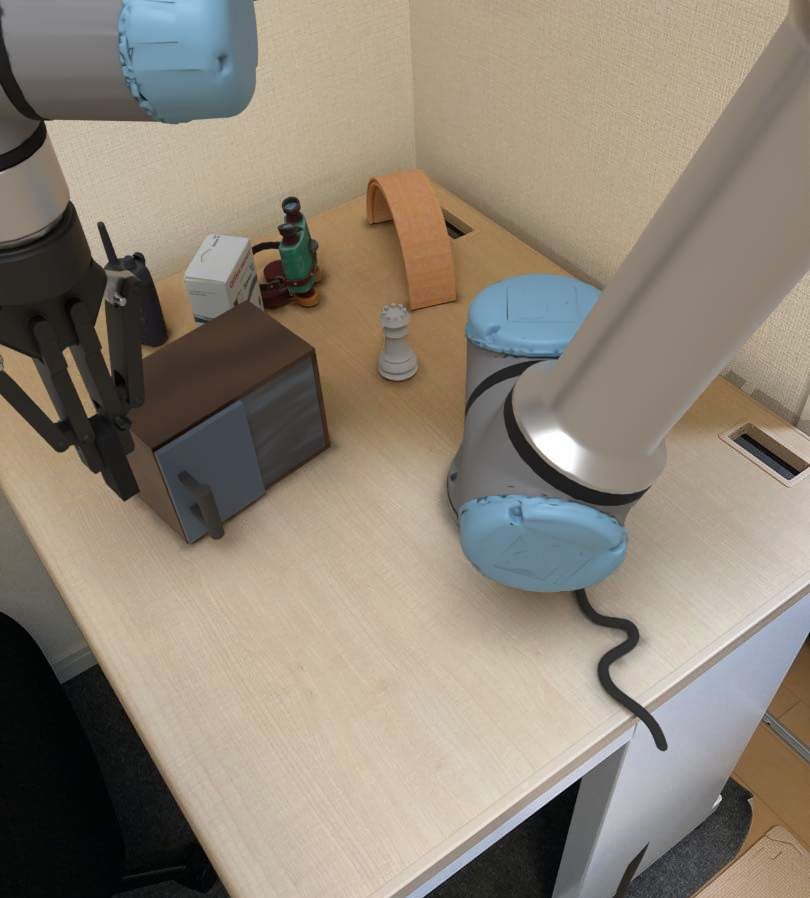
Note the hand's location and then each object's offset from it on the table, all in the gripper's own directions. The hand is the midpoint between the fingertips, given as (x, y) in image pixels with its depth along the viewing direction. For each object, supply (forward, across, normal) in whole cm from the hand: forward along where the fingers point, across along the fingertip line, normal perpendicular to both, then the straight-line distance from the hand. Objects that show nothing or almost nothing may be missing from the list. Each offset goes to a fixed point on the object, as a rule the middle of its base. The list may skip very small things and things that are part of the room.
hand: (122, 487), depth 71 cm
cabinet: (+15, -14, -9) cm, 23 cm away
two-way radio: (+16, -20, -33) cm, 42 cm away
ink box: (+16, -26, -24) cm, 39 cm away
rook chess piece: (+15, -36, -8) cm, 39 cm away
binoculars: (+15, -36, -28) cm, 48 cm away
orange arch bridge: (+10, -51, -22) cm, 56 cm away
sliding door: (+14, -9, -2) cm, 17 cm away
